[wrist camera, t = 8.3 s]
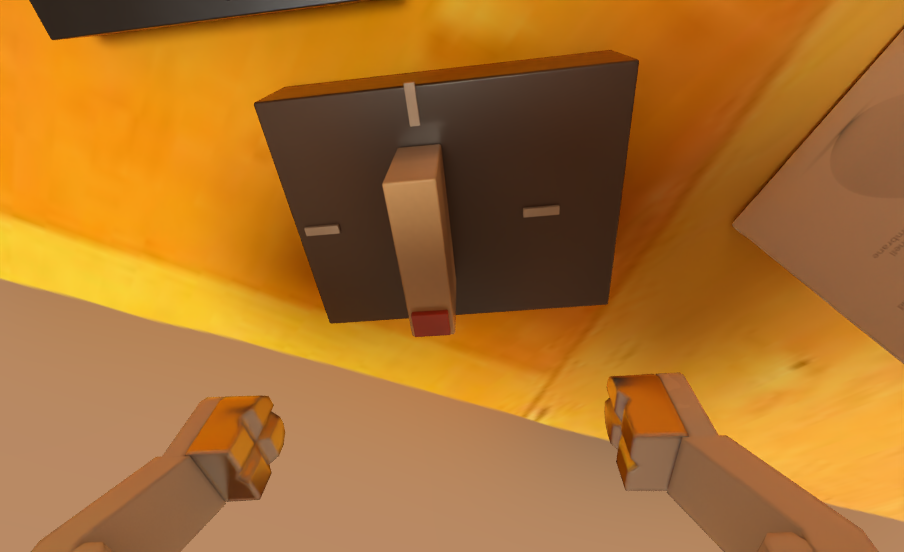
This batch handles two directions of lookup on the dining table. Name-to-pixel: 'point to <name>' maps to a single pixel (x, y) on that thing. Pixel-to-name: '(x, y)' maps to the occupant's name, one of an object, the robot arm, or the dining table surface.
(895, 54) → the cosmetics box
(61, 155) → the dining table surface
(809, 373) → the dining table surface
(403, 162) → the knob
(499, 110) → the panel
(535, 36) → the dining table surface
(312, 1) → the button box
